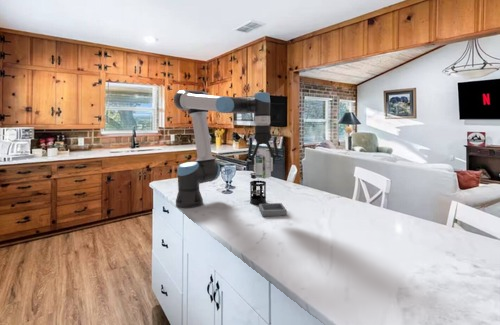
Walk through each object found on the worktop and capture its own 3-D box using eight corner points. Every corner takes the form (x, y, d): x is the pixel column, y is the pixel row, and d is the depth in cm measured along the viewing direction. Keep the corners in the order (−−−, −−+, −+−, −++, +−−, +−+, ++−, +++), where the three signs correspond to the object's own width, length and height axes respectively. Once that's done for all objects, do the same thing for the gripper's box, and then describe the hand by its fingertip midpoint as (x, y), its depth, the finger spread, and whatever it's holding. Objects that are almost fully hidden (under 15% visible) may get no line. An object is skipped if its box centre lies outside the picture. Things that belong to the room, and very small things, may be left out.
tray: (262, 216, 140) (262, 211, 140) (259, 209, 152) (259, 203, 152) (286, 215, 142) (286, 210, 141) (281, 208, 153) (281, 203, 153)
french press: (269, 204, 161) (269, 163, 158) (254, 206, 158) (254, 165, 155) (261, 198, 172) (260, 161, 169) (246, 200, 169) (246, 162, 165)
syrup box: (255, 177, 143) (254, 148, 140) (262, 175, 147) (261, 147, 145) (264, 178, 139) (263, 149, 137) (271, 177, 143) (271, 148, 141)
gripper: (242, 125, 135) (243, 173, 138) (284, 124, 137) (285, 171, 140) (241, 125, 142) (242, 170, 145) (281, 124, 144) (282, 169, 147)
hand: (263, 171), depth 143 cm, fingers closed on syrup box, 8 cm apart
